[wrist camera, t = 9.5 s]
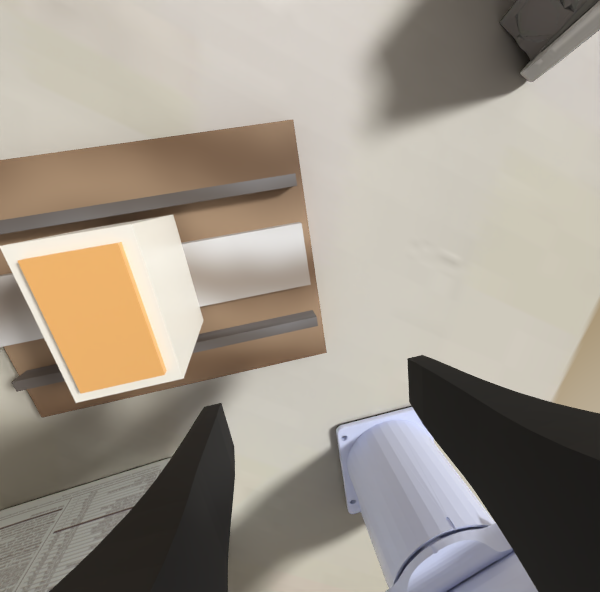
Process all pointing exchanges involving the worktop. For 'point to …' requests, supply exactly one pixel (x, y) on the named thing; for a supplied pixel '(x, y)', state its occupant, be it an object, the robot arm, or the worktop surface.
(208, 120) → the worktop surface
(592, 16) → the electrical switch
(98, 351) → the rail module
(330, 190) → the worktop surface
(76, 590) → the robot arm
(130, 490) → the supplement box
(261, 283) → the mounting board
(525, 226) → the worktop surface
